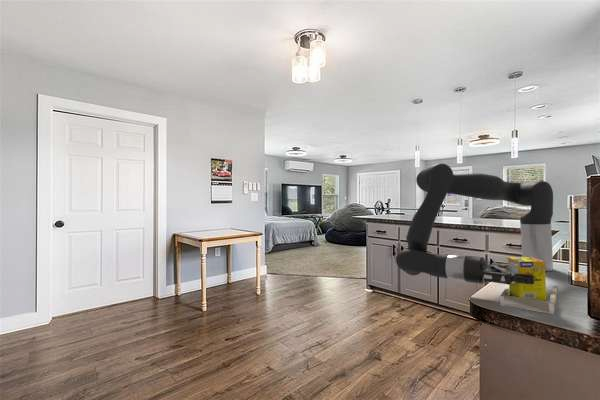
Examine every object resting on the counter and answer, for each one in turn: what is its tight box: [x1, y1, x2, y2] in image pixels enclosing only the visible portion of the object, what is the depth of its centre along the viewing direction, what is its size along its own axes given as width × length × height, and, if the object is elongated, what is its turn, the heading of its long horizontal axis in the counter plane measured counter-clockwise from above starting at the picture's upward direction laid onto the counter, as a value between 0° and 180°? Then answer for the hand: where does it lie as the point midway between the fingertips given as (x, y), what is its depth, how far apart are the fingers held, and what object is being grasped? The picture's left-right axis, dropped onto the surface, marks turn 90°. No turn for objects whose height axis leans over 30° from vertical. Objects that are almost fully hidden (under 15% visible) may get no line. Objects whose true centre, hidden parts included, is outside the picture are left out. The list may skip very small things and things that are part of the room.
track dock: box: [499, 285, 559, 315], centre depth 83 cm, size 22×11×2 cm, turn 137°
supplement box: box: [507, 256, 547, 301], centre depth 78 cm, size 6×6×11 cm
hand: (535, 276), depth 77 cm, fingers open, 8 cm apart
